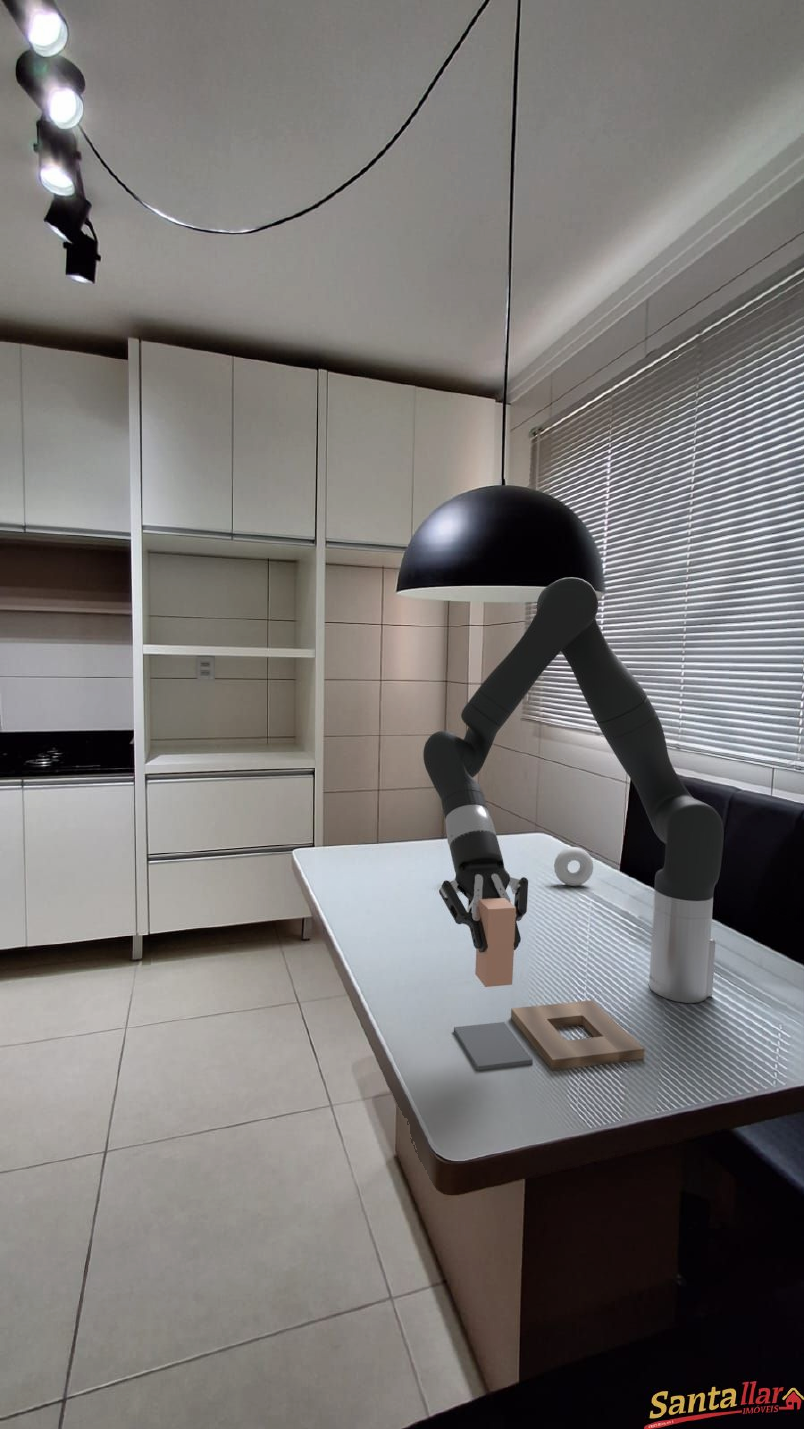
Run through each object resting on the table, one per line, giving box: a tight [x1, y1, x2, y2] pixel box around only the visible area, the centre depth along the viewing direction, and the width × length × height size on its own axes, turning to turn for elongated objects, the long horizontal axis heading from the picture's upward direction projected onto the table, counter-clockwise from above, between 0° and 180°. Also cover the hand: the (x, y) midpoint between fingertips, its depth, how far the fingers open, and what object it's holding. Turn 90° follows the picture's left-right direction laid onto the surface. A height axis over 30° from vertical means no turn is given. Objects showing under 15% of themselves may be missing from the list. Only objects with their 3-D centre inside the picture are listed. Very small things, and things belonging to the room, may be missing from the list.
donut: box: [553, 846, 594, 887], centre depth 170 cm, size 10×3×10 cm, turn 92°
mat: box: [453, 1021, 534, 1072], centre depth 95 cm, size 8×10×1 cm
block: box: [474, 898, 516, 988], centre depth 94 cm, size 4×4×11 cm
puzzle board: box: [510, 999, 645, 1072], centre depth 98 cm, size 14×14×2 cm
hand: (499, 948), depth 93 cm, fingers closed on block, 4 cm apart
